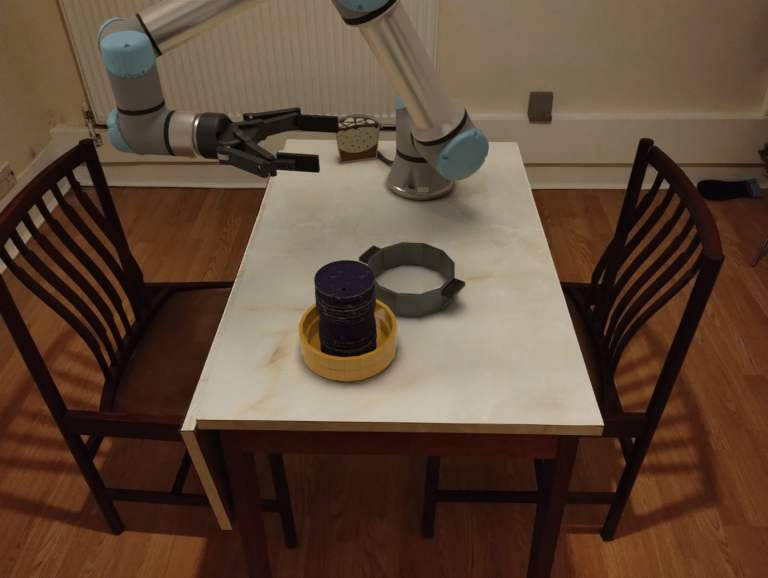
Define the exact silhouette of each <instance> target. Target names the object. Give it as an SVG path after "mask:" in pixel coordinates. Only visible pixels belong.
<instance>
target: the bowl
mask: <svg viewBox="0 0 768 578" xmlns="http://www.w3.org/2000/svg"><path fill="white" fill-rule="evenodd" d="M374 317H375V320H376V328H377V338H376V345H377V346H376V349H375V350H374V351H372V352H369V353H366V354H363V355H360V356H353V357H338V356H330V355H327V354H325V353H322V352H321V344H320V340H319V312H318V310H317V307H316V302H315V303H314V304H313V303H312V304H311V306H309V307H308V308H307V310H306V311H305V312H304V313H303V314H302V315H301V318H300V320H299V323H298V338H299V345H300V354H301V355H300V356H301V357H302V359H303V361H304V363H305V364H306V366H307V367H308V368H309V369H310V370H312V371H313V372H314V373H315V374H316V375H319V376H320V377H324V378H326V379H328V380H332V381H340V382H352V381H361V380H365V379H367V378H370V377H374V376H376V375H378V374H379V373H380V372H382V371H384V370H385V369H386V368H387V367H388V366H389V365H390V364H391V362H392V361H393V360H394V358H395V357H396V353H397V349H398V323H397V320H396V318H397V317H396V316H395V315H394V314H393V312H392V311H391V310H390V308H389V307H388V306H387V305H385V304H384V303H382V302H381V301H379V300H378V299H376V304H375V308H374Z"/></svg>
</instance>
